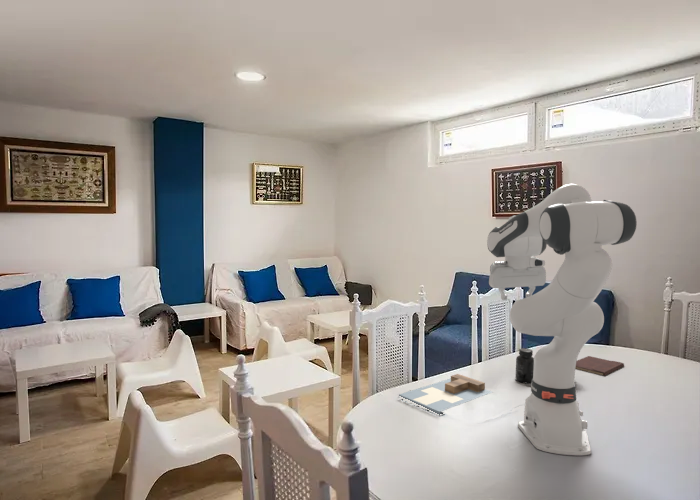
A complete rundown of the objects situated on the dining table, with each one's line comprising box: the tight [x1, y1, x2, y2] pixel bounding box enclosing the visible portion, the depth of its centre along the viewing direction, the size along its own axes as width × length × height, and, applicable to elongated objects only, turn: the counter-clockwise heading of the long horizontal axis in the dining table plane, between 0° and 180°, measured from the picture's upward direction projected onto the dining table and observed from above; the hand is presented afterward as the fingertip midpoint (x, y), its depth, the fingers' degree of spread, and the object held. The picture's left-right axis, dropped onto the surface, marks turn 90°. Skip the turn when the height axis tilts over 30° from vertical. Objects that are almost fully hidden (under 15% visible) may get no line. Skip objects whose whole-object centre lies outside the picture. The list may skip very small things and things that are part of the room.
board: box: [398, 377, 493, 415], centre depth 161 cm, size 28×18×2 cm, turn 128°
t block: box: [445, 373, 486, 394], centre depth 166 cm, size 12×12×2 cm
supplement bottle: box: [515, 347, 534, 384], centre depth 179 cm, size 7×7×12 cm
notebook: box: [575, 355, 625, 377], centre depth 198 cm, size 15×20×2 cm
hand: (516, 298), depth 166 cm, fingers open, 8 cm apart
